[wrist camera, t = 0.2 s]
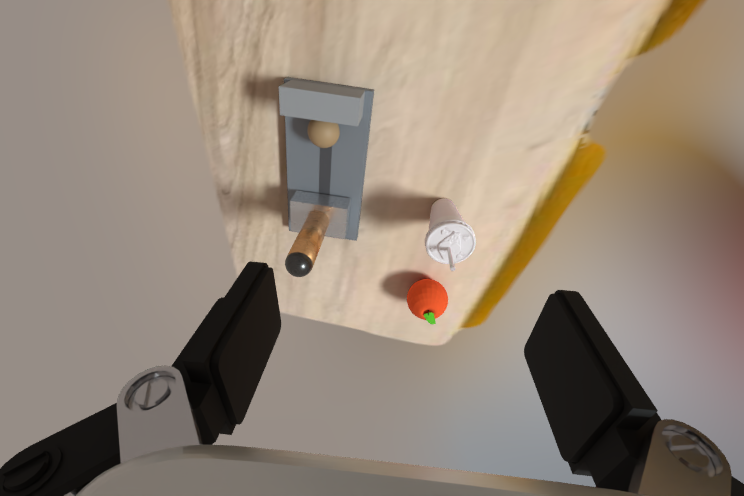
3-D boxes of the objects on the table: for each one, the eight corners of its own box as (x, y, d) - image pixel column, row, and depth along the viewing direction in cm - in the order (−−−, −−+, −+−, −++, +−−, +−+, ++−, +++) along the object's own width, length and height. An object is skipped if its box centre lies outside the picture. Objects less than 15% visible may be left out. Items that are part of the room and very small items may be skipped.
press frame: (287, 76, 41) (269, 84, 35) (374, 89, 41) (369, 99, 35) (291, 225, 53) (279, 248, 48) (357, 235, 53) (352, 259, 48)
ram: (296, 190, 47) (258, 248, 35) (350, 198, 47) (331, 259, 35) (297, 219, 50) (262, 283, 38) (348, 227, 50) (329, 293, 38)
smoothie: (416, 221, 51) (419, 278, 39) (430, 184, 47) (438, 236, 36) (454, 231, 51) (469, 291, 40) (472, 196, 48) (493, 251, 36)
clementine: (451, 298, 59) (456, 328, 54) (415, 307, 61) (416, 336, 56) (439, 266, 55) (443, 294, 50) (401, 276, 57) (400, 304, 52)
